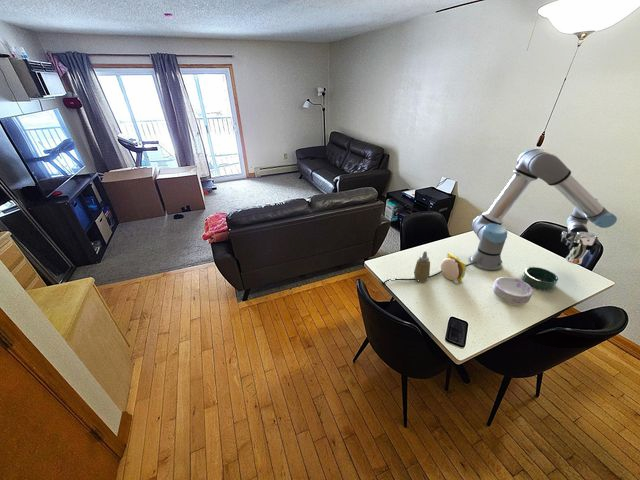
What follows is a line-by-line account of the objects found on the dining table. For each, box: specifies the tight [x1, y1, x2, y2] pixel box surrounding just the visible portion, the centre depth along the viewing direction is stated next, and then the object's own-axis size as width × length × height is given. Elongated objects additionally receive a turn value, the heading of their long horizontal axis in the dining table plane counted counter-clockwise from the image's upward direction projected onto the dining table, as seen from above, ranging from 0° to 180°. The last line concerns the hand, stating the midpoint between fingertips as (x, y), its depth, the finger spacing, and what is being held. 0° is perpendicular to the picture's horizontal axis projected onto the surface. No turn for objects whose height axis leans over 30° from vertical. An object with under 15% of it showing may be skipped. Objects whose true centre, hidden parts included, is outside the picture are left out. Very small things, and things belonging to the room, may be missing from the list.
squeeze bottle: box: [413, 250, 431, 283], centre depth 141 cm, size 8×8×18 cm
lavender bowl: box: [492, 276, 534, 306], centre depth 127 cm, size 15×15×8 cm
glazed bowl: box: [521, 266, 559, 292], centre depth 136 cm, size 14×14×6 cm
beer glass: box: [565, 231, 597, 265], centre depth 128 cm, size 7×7×15 cm
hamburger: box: [440, 252, 467, 284], centre depth 142 cm, size 12×8×12 cm
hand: (582, 250), depth 124 cm, fingers closed on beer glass, 7 cm apart
